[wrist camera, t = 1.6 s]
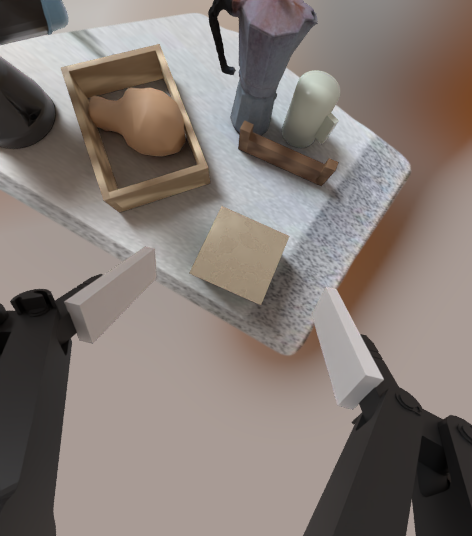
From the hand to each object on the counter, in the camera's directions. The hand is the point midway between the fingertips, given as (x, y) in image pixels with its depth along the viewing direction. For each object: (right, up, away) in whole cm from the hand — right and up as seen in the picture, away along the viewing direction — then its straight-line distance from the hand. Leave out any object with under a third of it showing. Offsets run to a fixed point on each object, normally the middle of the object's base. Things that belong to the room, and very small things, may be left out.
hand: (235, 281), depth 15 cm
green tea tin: (0, +2, +24) cm, 24 cm away
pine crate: (-20, +29, +26) cm, 43 cm away
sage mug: (+15, +31, +28) cm, 45 cm away
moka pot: (+3, +34, +28) cm, 44 cm away
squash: (-19, +29, +26) cm, 43 cm away
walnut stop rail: (+10, +24, +27) cm, 37 cm away
